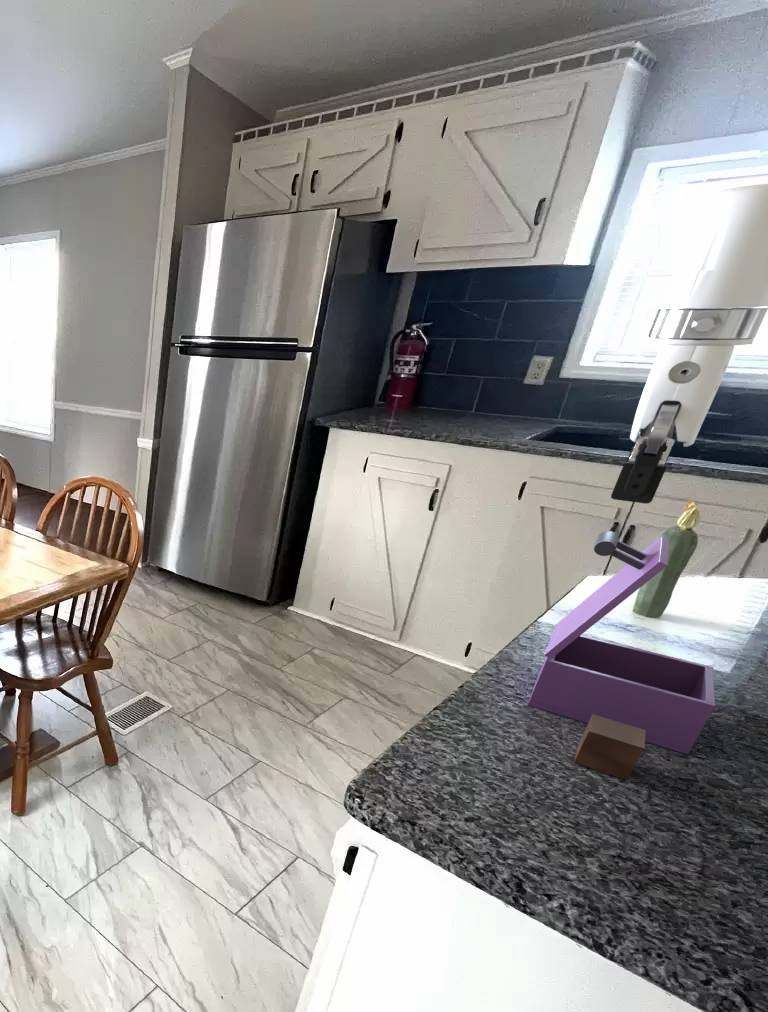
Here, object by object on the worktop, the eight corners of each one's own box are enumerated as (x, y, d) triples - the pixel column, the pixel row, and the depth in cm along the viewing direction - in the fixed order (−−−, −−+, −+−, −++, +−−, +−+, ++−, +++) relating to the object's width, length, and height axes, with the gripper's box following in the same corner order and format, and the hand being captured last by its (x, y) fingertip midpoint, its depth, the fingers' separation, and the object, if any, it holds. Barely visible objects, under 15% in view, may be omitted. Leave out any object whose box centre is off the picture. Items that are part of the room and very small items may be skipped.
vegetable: (656, 633, 98) (718, 508, 89) (618, 625, 100) (675, 503, 92) (655, 623, 100) (715, 501, 92) (618, 615, 103) (672, 496, 95)
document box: (687, 712, 79) (713, 666, 76) (687, 754, 72) (715, 706, 69) (540, 671, 89) (557, 629, 86) (527, 704, 82) (546, 660, 79)
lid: (669, 539, 76) (617, 513, 78) (667, 565, 69) (610, 536, 71) (562, 628, 86) (519, 602, 88) (550, 659, 78) (504, 630, 81)
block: (629, 761, 71) (646, 730, 70) (627, 780, 69) (644, 748, 67) (577, 744, 74) (592, 713, 72) (573, 762, 72) (588, 730, 70)
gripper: (762, 332, 57) (678, 515, 64) (755, 324, 67) (683, 482, 74) (645, 332, 62) (579, 502, 69) (656, 324, 72) (597, 472, 79)
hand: (633, 491), depth 72 cm, fingers open, 9 cm apart
